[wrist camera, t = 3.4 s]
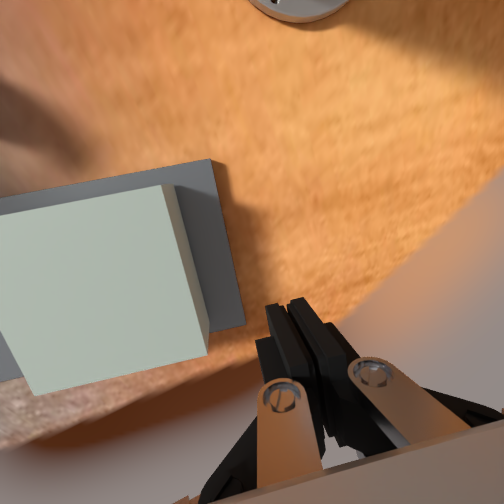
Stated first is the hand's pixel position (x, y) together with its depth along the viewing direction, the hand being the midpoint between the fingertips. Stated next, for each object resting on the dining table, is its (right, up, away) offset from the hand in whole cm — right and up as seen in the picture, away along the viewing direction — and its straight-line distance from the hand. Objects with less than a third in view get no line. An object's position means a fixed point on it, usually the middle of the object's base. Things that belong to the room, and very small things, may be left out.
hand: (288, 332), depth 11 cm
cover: (-13, +1, +12) cm, 18 cm away
